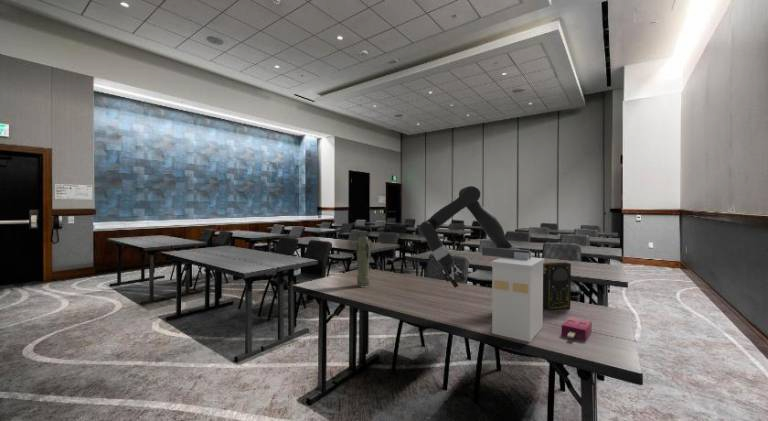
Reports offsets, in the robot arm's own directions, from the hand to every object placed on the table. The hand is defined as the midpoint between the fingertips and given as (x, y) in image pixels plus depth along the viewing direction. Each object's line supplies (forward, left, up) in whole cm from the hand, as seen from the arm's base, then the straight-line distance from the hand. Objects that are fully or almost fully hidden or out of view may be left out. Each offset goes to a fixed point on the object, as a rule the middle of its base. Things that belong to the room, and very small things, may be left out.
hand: (460, 283), depth 170 cm
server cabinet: (-14, +24, -17) cm, 33 cm away
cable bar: (-15, +15, +15) cm, 26 cm away
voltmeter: (-58, +6, -17) cm, 61 cm away
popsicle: (-34, +38, -18) cm, 54 cm away
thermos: (+24, -82, -17) cm, 87 cm away
